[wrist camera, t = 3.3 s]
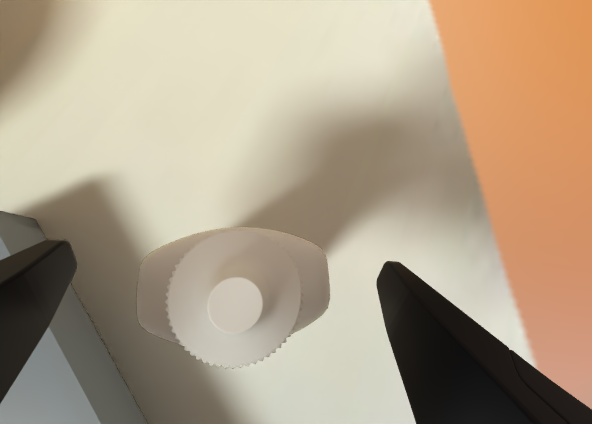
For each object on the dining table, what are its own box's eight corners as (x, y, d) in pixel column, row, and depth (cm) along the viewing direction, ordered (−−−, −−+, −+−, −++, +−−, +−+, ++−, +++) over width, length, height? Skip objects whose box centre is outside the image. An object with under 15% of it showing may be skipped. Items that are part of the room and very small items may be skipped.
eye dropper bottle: (268, 338, 15) (364, 592, 3) (172, 292, 14) (-127, 391, 3) (302, 264, 16) (465, 249, 4) (214, 219, 15) (131, 70, 4)
